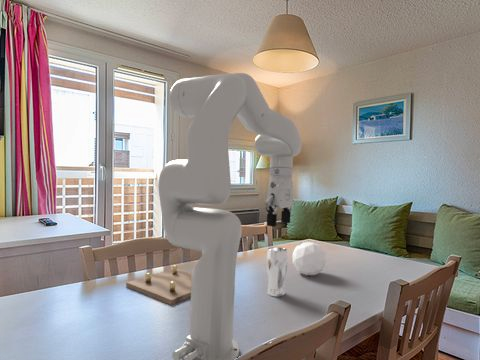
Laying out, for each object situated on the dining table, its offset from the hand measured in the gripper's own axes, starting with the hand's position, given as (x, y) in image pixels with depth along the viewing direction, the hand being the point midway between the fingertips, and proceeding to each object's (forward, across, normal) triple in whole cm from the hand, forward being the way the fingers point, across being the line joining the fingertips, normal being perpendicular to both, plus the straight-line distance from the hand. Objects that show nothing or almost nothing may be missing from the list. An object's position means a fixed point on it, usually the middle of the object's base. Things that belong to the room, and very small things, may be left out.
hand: (278, 224), depth 105 cm
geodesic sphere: (+24, +26, 0) cm, 36 cm away
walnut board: (+23, -18, +30) cm, 42 cm away
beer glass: (+23, 0, 0) cm, 23 cm away
